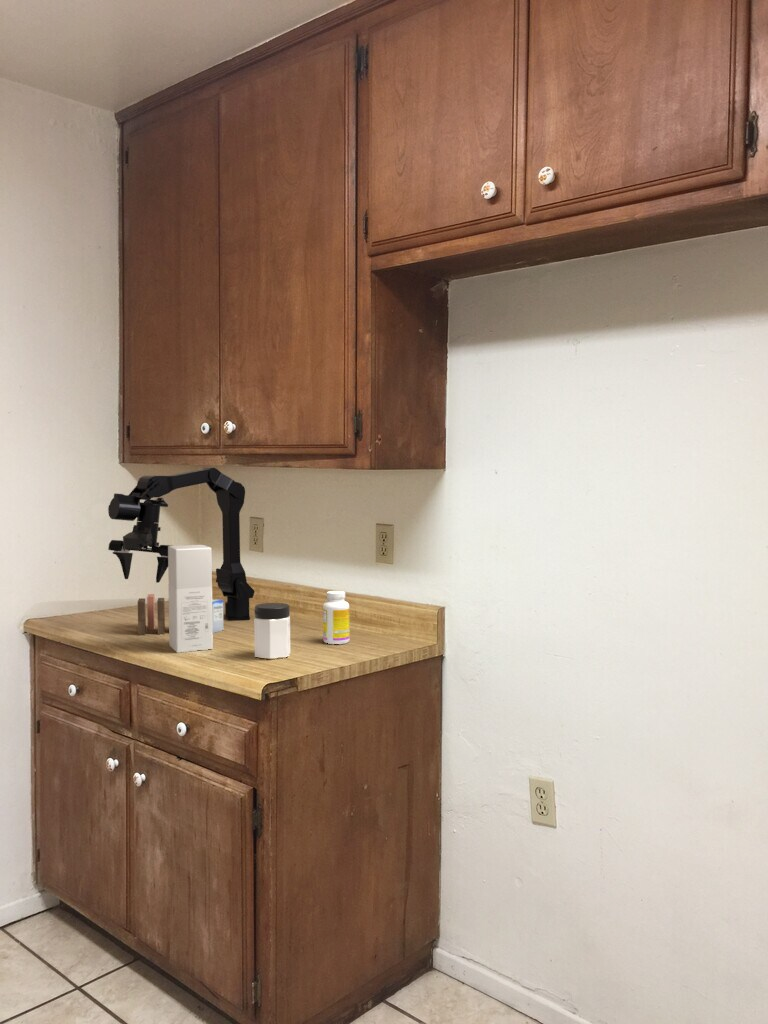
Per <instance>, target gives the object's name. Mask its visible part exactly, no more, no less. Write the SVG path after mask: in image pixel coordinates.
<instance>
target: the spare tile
mask: <svg viewBox="0 0 768 1024" xmlns="http://www.w3.org/2000/svg"><path fill="white" fill-rule="evenodd" d="M146 603H147V604H146V605H147V613H146V614H147V631H154V630H155V628H154V627H155V626H156V623H155V622H156V621H155V620H156V618H155V617H156V615H155V608H156V607H155V594H153V593H152V594H147V600H146ZM153 629H154V630H153Z"/></svg>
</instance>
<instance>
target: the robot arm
mask: <svg viewBox="0 0 768 1024" xmlns="http://www.w3.org/2000/svg"><path fill="white" fill-rule="evenodd" d="M138 478H139V479H138V480H137V483H136V486H135V487H134V488H133V489H132V490H131V491H130V492H129V494H127V495H126V494H124V493H118V492H116V493H114V494H113V498H112V499H111V500H110V503H109V505H108V507H107V508H108V509H107V512H108V516H109V518H110V519H111V520H117V521H128V522H134V521H135V520H136V524H134V525H133V527H132V531H130V532H128V533H126V534H125V535H123V536H122V540H120V539H119V540H117V539H112V540H110V542H109V543H108V551H112V554H113V555H115V556H116V557H117V558H118V560H119V561H120V566H121V570H122V573H123V577H124V579H125V580H129V577H130V571H131V567H132V566H131V565H132V560H133V555H134V554H133V553H134V552H135V551H136V552H145V553H155V554H159V556H156V559H157V568H156V576H155V583H156V584H157V583H160V582H161V580H162V578H163V577H164V574H165V573H166V571H167V569H168V546H173V544H160V542H158V534H159V532H161V530H162V529H161V528H162V527H161V526H160V527H159V523H160V513H161V507H163V508H168V507H169V504H168V503H167V502H166V501H165V500H164V497H163V496H166V495H167V494H168V495H169V494H170V493H171V492H173V491H175V490H178V489H181V488H182V489H183V488H187V487H190V486H197V485H202V484H206V485H207V486H208V488H209V489H210V490H211V491H212V492H214V494H215V496H216V502H217V505H218V506H219V510H220V511H221V515H222V563H221V566H220V568H216V569H215V574H216V579H215V583H217V587H218V589H220V591H221V594H222V596H223V597H226V601H225V603H224V613H225V614H224V616H225V618H226V619H227V621H236V620H237V621H238V620H239V621H240V620H242V621H243V620H251V617H250V616H251V615H250V599H253V598H254V596H255V589H253V587H251V585H250V584H248V582H247V574H246V571H245V569H244V567H243V564H242V563H241V529H240V528H241V526H240V525H241V524H240V523H241V522H240V519H241V518H240V513H241V511H242V508H243V507H244V504H245V499H246V488H245V486H244V485H243V484H242V483H241V482H238V481H235V480H234V479H233V478H231V477H229V476H227V475H226V474H224V473H223V472H221V471H220V470H219V469H218V468H216V467H204V468H200V469H195V470H190V471H185V472H181V473H175V474H169V475H143V476H141V477H138ZM154 498H156V499H154ZM142 501H143V502H142ZM131 551H134V552H131Z"/></svg>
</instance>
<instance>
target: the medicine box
mask: <svg viewBox="0 0 768 1024" xmlns="http://www.w3.org/2000/svg"><path fill="white" fill-rule="evenodd" d="M212 617H213V634H216V633H215V632H217V633H219V632H218V631H221V632H223V631H224V600H223V599H219V598H217V599H216V598H212ZM222 630H223V631H222Z"/></svg>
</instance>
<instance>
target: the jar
mask: <svg viewBox="0 0 768 1024" xmlns="http://www.w3.org/2000/svg"><path fill="white" fill-rule="evenodd" d="M290 608H291V607H290V604H288V603H282V602H266V603H265V602H264V603H259V604H256V605H255V606H254V619H253V621H254V622H253V623H254V631H253V633H254V658H255V657H264V658H278V657H287V656H289V657H290V655H291V616H290ZM289 654H290V655H289Z"/></svg>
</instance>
